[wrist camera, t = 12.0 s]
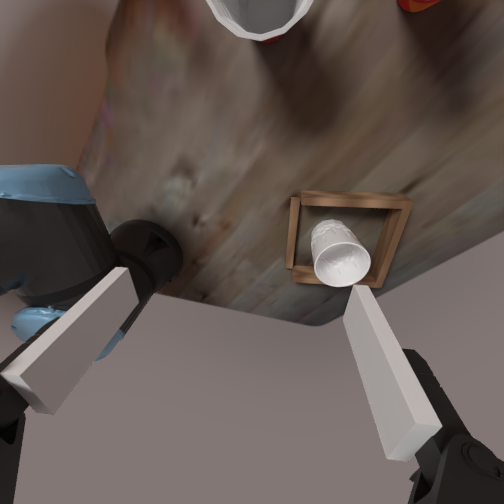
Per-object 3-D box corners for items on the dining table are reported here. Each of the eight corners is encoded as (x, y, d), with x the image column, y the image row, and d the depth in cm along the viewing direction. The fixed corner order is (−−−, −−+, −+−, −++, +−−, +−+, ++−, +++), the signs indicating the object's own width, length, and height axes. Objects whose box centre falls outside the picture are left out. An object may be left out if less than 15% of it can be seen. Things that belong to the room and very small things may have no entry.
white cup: (334, 260, 44) (347, 294, 36) (299, 243, 43) (304, 274, 35) (361, 227, 40) (383, 256, 32) (323, 208, 39) (334, 233, 31)
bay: (284, 269, 47) (284, 281, 43) (291, 190, 38) (293, 197, 35) (373, 275, 45) (381, 288, 42) (401, 193, 37) (414, 201, 33)
